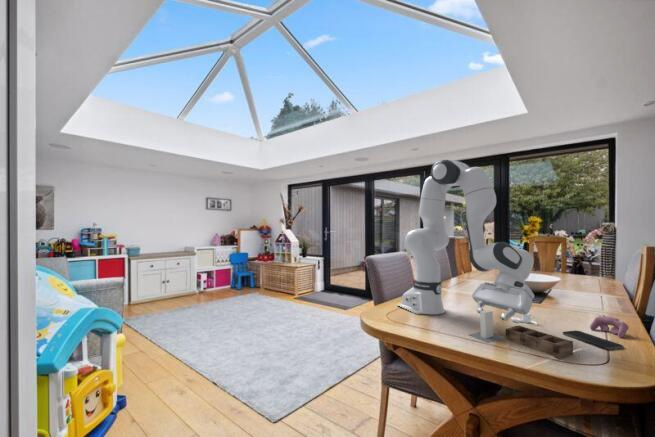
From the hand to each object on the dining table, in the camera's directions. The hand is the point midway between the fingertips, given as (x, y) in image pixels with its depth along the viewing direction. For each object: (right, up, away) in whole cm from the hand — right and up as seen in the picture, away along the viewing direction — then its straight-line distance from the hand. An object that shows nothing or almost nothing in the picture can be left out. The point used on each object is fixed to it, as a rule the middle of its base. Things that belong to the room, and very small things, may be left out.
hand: (490, 316), depth 108 cm
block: (-2, -7, -1) cm, 7 cm away
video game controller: (+46, -8, +3) cm, 46 cm away
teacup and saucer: (+22, -8, +18) cm, 30 cm away
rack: (+10, -7, -9) cm, 16 cm away
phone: (+33, -8, -5) cm, 34 cm away
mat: (-2, -7, -1) cm, 8 cm away
